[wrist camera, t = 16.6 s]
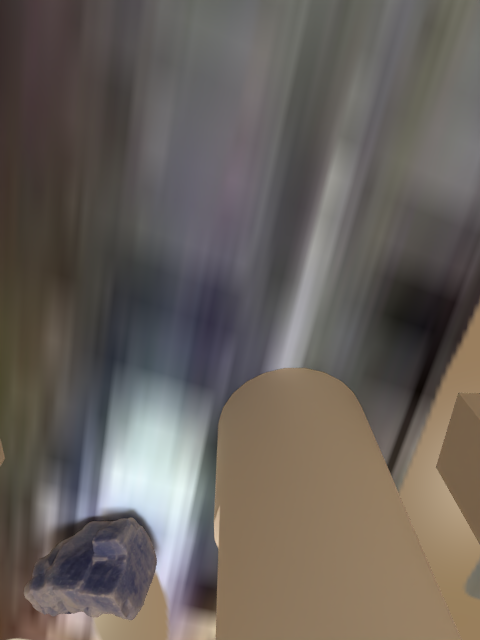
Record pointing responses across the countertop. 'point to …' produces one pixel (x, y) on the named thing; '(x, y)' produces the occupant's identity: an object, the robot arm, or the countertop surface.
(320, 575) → the cylinder
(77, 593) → the mineral
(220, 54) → the countertop surface
